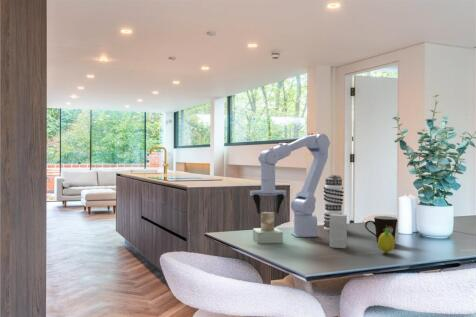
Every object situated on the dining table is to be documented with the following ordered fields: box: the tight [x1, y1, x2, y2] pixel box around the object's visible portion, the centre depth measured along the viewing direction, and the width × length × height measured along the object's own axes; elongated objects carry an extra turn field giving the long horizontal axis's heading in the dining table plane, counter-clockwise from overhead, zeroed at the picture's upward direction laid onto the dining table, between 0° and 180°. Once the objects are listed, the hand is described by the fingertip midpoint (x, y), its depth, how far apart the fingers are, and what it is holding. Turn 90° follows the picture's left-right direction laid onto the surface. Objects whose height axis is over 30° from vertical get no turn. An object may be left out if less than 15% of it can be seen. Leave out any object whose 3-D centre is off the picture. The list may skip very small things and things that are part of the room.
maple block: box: [260, 211, 275, 231], centre depth 166 cm, size 4×4×7 cm
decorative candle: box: [323, 174, 344, 231], centre depth 195 cm, size 9×9×25 cm
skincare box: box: [329, 214, 348, 249], centre depth 156 cm, size 6×4×12 cm
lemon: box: [377, 225, 396, 255], centre depth 145 cm, size 7×6×10 cm
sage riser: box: [252, 227, 284, 244], centre depth 167 cm, size 10×10×4 cm
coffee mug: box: [364, 215, 398, 244], centre depth 164 cm, size 12×9×10 cm
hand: (267, 213), depth 170 cm, fingers open, 7 cm apart
